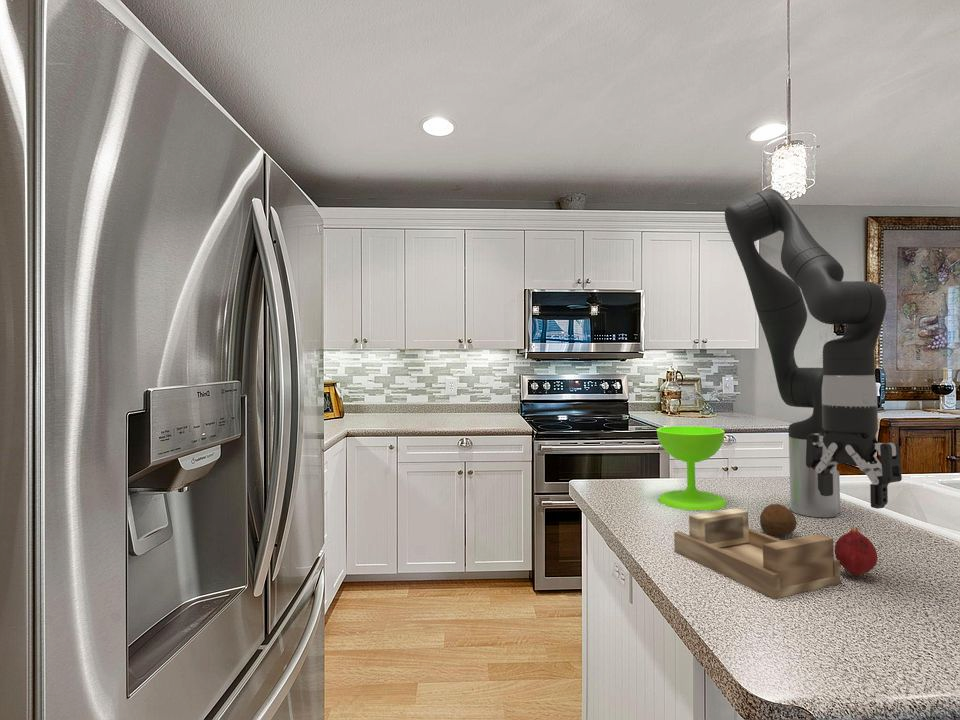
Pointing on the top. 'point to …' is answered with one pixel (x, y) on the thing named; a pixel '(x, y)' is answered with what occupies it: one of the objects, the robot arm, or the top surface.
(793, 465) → the robot arm
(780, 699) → the top surface
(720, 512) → the jaw
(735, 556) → the vise base
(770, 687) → the top surface
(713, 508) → the wineglass
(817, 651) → the top surface
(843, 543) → the onion
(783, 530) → the potato
